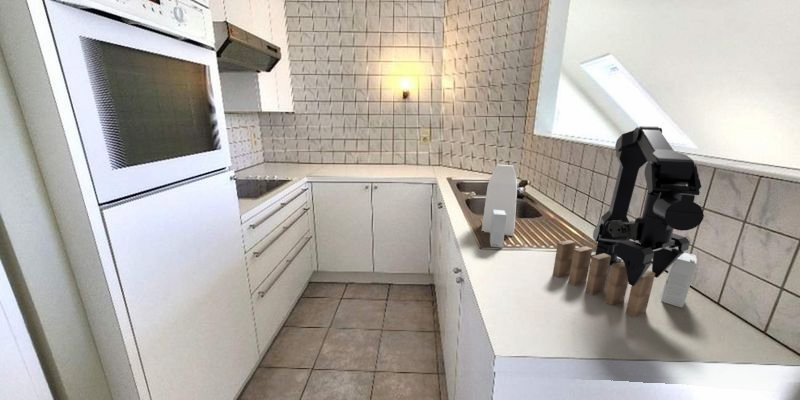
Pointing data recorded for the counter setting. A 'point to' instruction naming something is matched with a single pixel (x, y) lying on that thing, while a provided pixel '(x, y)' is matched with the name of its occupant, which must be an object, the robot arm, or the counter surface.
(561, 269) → the domino
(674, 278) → the skincare box
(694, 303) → the counter surface
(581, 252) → the domino
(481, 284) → the counter surface
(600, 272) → the domino
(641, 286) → the domino
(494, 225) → the skincare box
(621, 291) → the domino
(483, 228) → the milk
